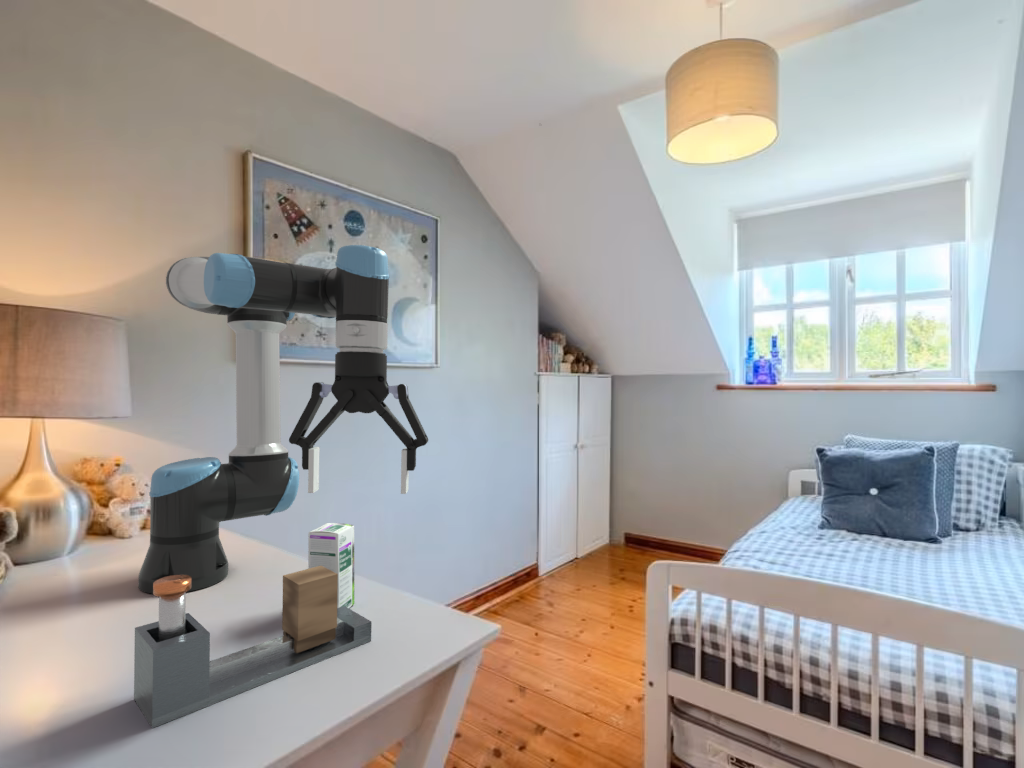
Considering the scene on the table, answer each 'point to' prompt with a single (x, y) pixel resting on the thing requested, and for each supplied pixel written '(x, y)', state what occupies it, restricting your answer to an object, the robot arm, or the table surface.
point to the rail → (221, 665)
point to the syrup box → (335, 556)
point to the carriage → (310, 607)
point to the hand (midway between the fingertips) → (359, 491)
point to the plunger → (172, 604)
